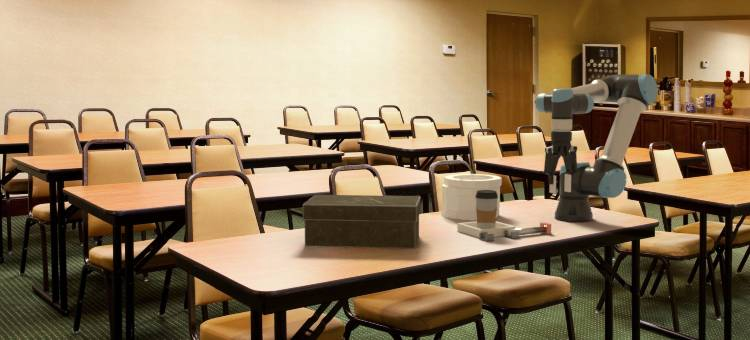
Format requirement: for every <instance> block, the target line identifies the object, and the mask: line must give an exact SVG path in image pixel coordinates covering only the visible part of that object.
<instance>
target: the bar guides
mask: <svg viewBox="0 0 750 340" xmlns="http://www.w3.org/2000/svg"><path fill="white" fill-rule="evenodd" d="M508 230H512V229H508ZM506 231H507V230H504V236H503V237H504V238H508V236H507V234H506ZM487 233H488V232H480V233H479V238H478V239H479V240H481V241H485V242H494V241H495V237H494V234H487ZM519 238H520V235H519V231H513V232H511V236H510V237H509V238H508V239H519Z"/></svg>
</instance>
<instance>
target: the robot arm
mask: <svg viewBox="0 0 750 340" xmlns="http://www.w3.org/2000/svg"><path fill="white" fill-rule="evenodd" d="M658 90H659V89H658V85H657V82H656V79H655V77H653V76H652V74H643V73H640V74H631V73H629V74H620V73H619V74H614V75H609V76H605V77H603V78H598V79H595V80H592V82H591V83H587V84H584V85H579V86H575V87H571V88H554V89H553V90H552V92H549V93H548V92H544V93H540V94H538V95H537V96H536V99H535V107H536V110H537V111H538V112H540V113H545V114H547V113H548V114H549V113H551V124H550V126H551V130H552V131H551V132H550V141H551V145H550V146H548V147H547V146H545V147H544V154H545V155H544V157H545V158H544V168H543V174H545V175H546V176H548V185H549V193H550V194H556V193H557V175H555V173H556V170H557V167H558V164H559V159H561V158H562V159H563V164H562V165H561V166H560V168H559V169H560V170H559V197H558V198H559V199H558V203H557V206H556V209H555V212H554V219H556V220H557V221H558V220H559V221H564V222H589V221H593V217H594V215H593V212H592V208H591V205H590V201H589V200H590V199H589V198H590V196H591V197H599V198H604V199H607V198H608V199H609V198H610V199H613V198H617V197H619V196H620V195H621V194H622V193H623V192H624V190H625V189H626V186H627V179H628V178H627V173H626V171H625V167H624V165H623V162H624V159H625V158H626V155H627V152H628V149H629V146H630V143H631V140H632V137H633V134H634V132H635V129H636V126H637V125H638V124H637V123H638V122H639V118H640V117H641V113H644V112H645V111H646V110H647V107H648V105H650V104H653V103H655V102H656V100H657V99H658ZM594 102H595V103H597V104H599V103H600V104H601V103H603V102H604V103H617V104H618V108H617V112H616V115H615V117H614V121H613V123H612V126H611V128H610V131H609V134H608V137H607V139H606V142H605V145H604V148H603V149H602V153H601V156H600V157H598V158H597V159H595V161H594V164H593V166H591V163H590V162H588V161H585V162H582V161H581V162H578V161H577V152H578V146H577V145H572V143H571V142H572V139H573V132H572V131H571V130H573V115H580V114H581V115H584V114H588V113H590V112H592V110H593V108H594V105H595V103H594Z"/></svg>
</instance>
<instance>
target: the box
mask: <svg viewBox="0 0 750 340" xmlns="http://www.w3.org/2000/svg"><path fill="white" fill-rule="evenodd" d="M421 200H422V199H421V196H420V195H371V194H370V195H367V194H365V195H363V194H362V195H360V194H359V195H358V194H356V195H355V194H353V195H351V194H349V195H347V194H342V195H341V194H314V195H313V196H312V197H310V198H309V199H308V200H306V201H305V202H304V203H303V204H302V220H303V221H304V247H320V248H321V247H326V248H327V247H329V248H335V247H336V248H368V249H370V248H373V249H375V248H376V249H379V248H380V249H411V250H412V249H416V248H417V244H418V240H419V237H420V214H421V211H422V210H421V209H422V208H421V204H422V203H421V202H422V201H421Z"/></svg>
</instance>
